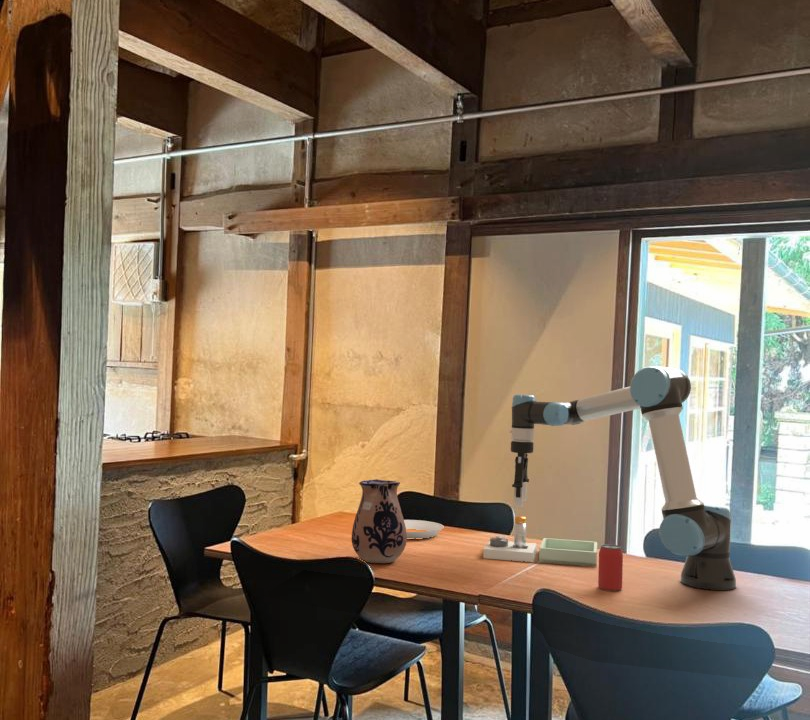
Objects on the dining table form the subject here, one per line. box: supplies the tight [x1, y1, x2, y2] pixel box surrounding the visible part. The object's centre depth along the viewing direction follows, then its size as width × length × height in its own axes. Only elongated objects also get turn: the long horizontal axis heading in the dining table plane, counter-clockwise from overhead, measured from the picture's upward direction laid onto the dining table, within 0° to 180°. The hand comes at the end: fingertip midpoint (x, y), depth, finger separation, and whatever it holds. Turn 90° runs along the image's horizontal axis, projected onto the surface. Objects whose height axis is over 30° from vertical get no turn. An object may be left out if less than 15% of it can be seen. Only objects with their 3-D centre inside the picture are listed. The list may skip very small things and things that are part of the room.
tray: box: [538, 537, 598, 567], centre depth 262 cm, size 18×18×4 cm
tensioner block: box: [482, 535, 538, 563], centre depth 265 cm, size 16×16×6 cm
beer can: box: [597, 543, 624, 592], centre depth 224 cm, size 7×7×12 cm
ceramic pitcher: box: [351, 478, 408, 564], centre depth 253 cm, size 18×21×25 cm
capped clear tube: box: [513, 515, 528, 549], centre depth 264 cm, size 4×4×13 cm
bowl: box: [404, 519, 444, 539], centre depth 296 cm, size 25×25×4 cm
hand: (520, 504), depth 265 cm, fingers open, 13 cm apart
